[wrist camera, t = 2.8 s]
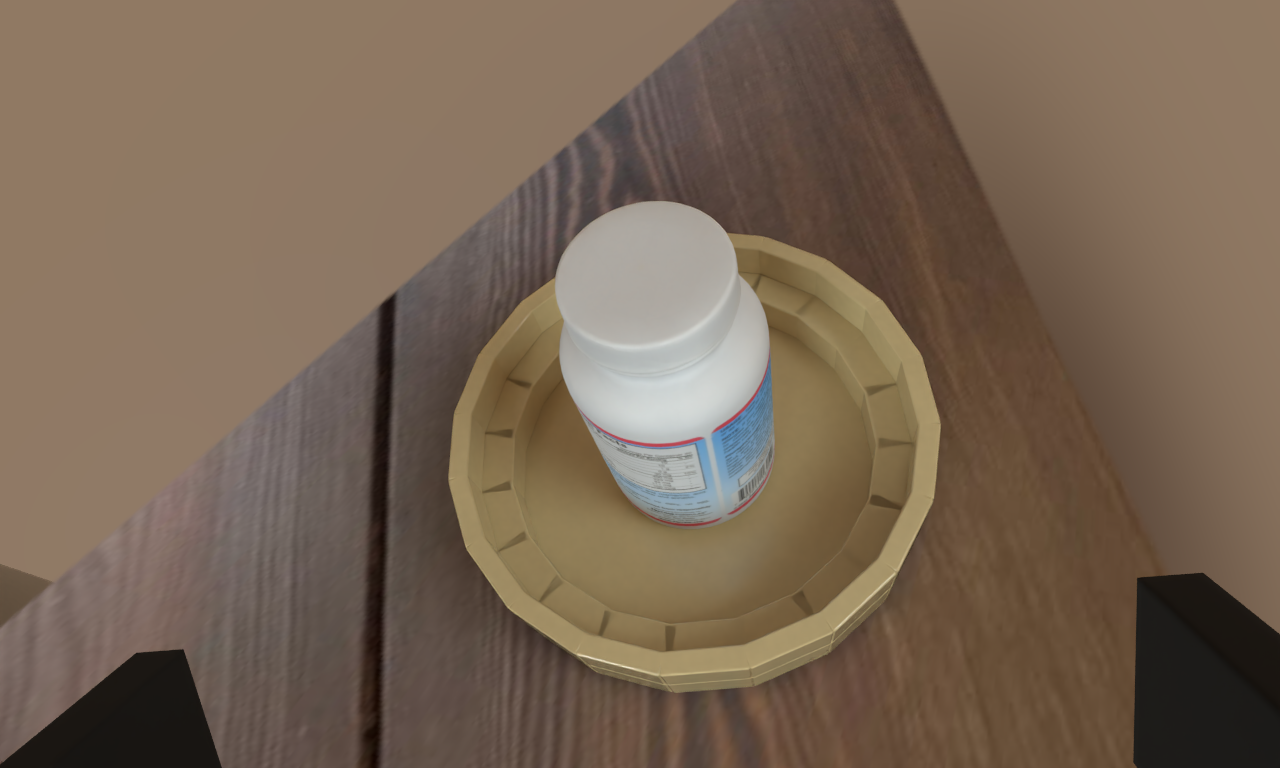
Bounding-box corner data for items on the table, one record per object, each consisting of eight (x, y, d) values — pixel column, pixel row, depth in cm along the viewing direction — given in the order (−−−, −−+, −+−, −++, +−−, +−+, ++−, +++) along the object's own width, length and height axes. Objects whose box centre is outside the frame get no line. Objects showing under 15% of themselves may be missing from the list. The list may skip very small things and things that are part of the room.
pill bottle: (723, 360, 30) (695, 144, 21) (806, 485, 27) (818, 298, 18) (586, 430, 30) (492, 240, 20) (655, 565, 27) (583, 417, 17)
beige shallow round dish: (399, 537, 29) (355, 504, 26) (632, 236, 35) (617, 181, 32) (785, 803, 23) (785, 799, 20) (994, 381, 29) (1018, 329, 26)
